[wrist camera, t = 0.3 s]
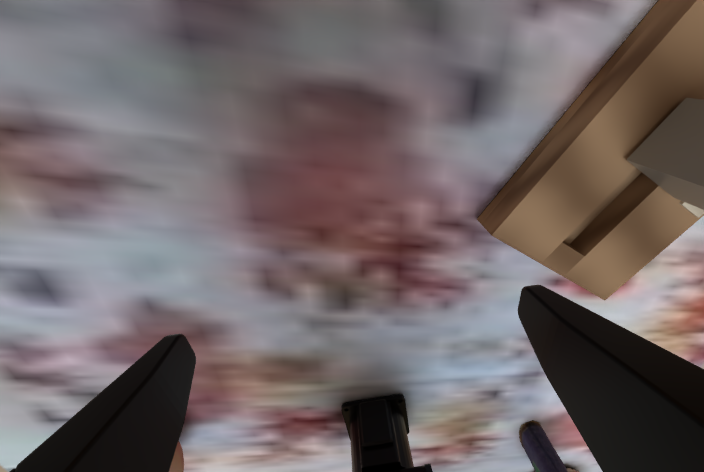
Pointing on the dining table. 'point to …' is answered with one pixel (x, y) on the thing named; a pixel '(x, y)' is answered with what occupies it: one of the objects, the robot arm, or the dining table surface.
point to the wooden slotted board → (608, 162)
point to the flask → (540, 448)
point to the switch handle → (676, 153)
